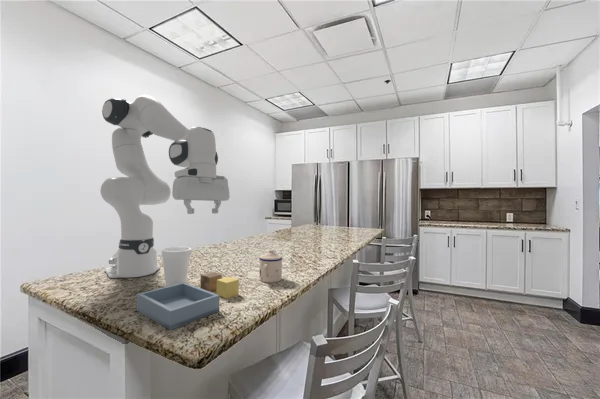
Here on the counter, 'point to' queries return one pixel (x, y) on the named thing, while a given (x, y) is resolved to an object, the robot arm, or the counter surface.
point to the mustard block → (227, 287)
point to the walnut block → (209, 281)
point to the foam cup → (176, 264)
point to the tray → (177, 304)
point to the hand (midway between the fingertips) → (203, 213)
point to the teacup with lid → (270, 267)
